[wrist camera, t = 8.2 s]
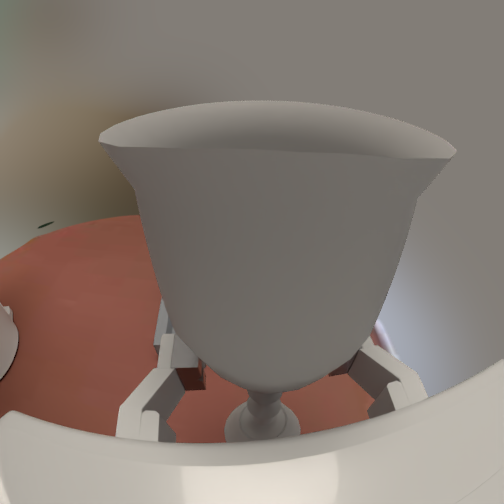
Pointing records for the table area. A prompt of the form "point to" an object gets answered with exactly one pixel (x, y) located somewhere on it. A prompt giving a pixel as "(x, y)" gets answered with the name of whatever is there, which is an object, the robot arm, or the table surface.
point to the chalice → (274, 235)
